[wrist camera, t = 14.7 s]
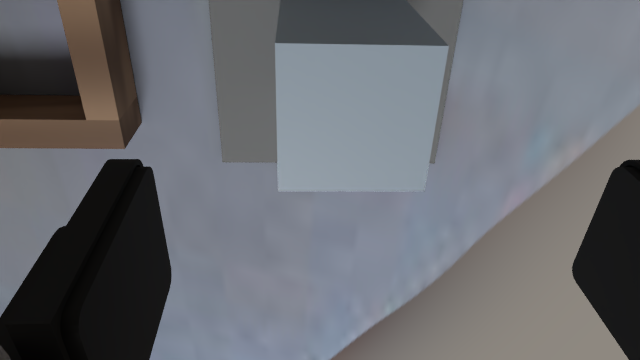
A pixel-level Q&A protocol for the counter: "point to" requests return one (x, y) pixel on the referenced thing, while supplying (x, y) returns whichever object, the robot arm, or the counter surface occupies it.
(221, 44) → the mat
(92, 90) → the pocket holder
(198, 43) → the counter surface
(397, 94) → the block
